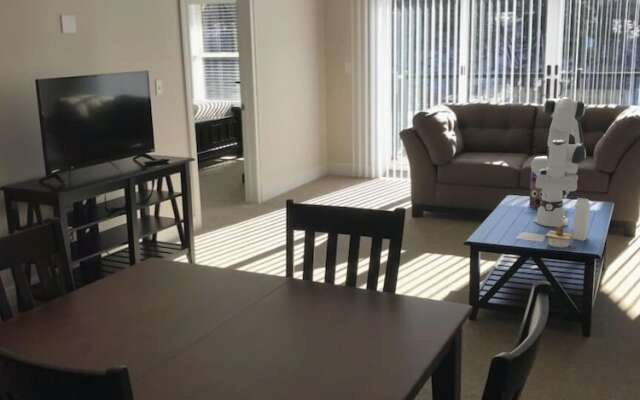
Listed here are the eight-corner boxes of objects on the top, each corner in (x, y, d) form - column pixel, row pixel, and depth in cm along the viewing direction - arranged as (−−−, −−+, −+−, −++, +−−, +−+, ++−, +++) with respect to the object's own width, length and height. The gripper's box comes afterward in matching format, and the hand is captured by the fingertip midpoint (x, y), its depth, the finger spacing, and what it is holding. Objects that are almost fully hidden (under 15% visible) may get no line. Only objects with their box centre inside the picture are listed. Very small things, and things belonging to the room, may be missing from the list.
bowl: (551, 241, 364) (551, 232, 363) (570, 244, 359) (571, 235, 358) (546, 246, 356) (547, 237, 354) (566, 249, 351) (567, 239, 350)
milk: (576, 236, 373) (578, 196, 368) (587, 238, 369) (590, 198, 364) (572, 239, 368) (575, 198, 363) (584, 240, 364) (587, 200, 360)
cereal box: (529, 206, 441) (531, 169, 436) (531, 205, 445) (533, 168, 439) (557, 209, 432) (559, 172, 427) (559, 208, 436) (561, 170, 431)
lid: (550, 232, 364) (550, 222, 363) (573, 234, 358) (574, 225, 357) (544, 237, 354) (545, 228, 353) (568, 240, 348) (569, 231, 347)
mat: (522, 232, 381) (522, 232, 381) (548, 236, 374) (548, 235, 374) (514, 238, 370) (515, 238, 370) (541, 242, 363) (541, 241, 362)
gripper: (579, 172, 350) (577, 198, 353) (538, 168, 360) (536, 194, 363) (577, 174, 344) (575, 201, 348) (535, 171, 355) (534, 197, 358)
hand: (555, 197), depth 355 cm, fingers open, 8 cm apart
